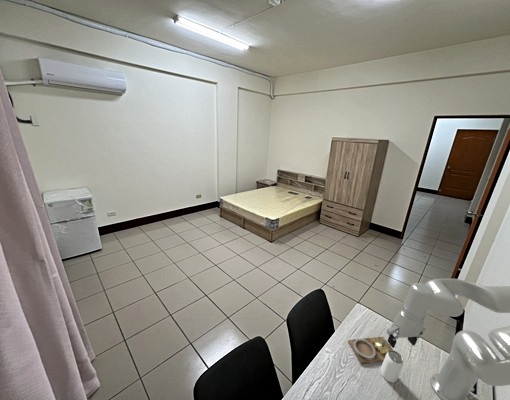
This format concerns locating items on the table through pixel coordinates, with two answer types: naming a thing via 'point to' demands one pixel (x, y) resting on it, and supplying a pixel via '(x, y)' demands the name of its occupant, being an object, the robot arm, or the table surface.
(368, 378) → the table surface
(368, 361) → the gear board
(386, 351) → the gear
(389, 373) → the can
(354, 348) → the ring
